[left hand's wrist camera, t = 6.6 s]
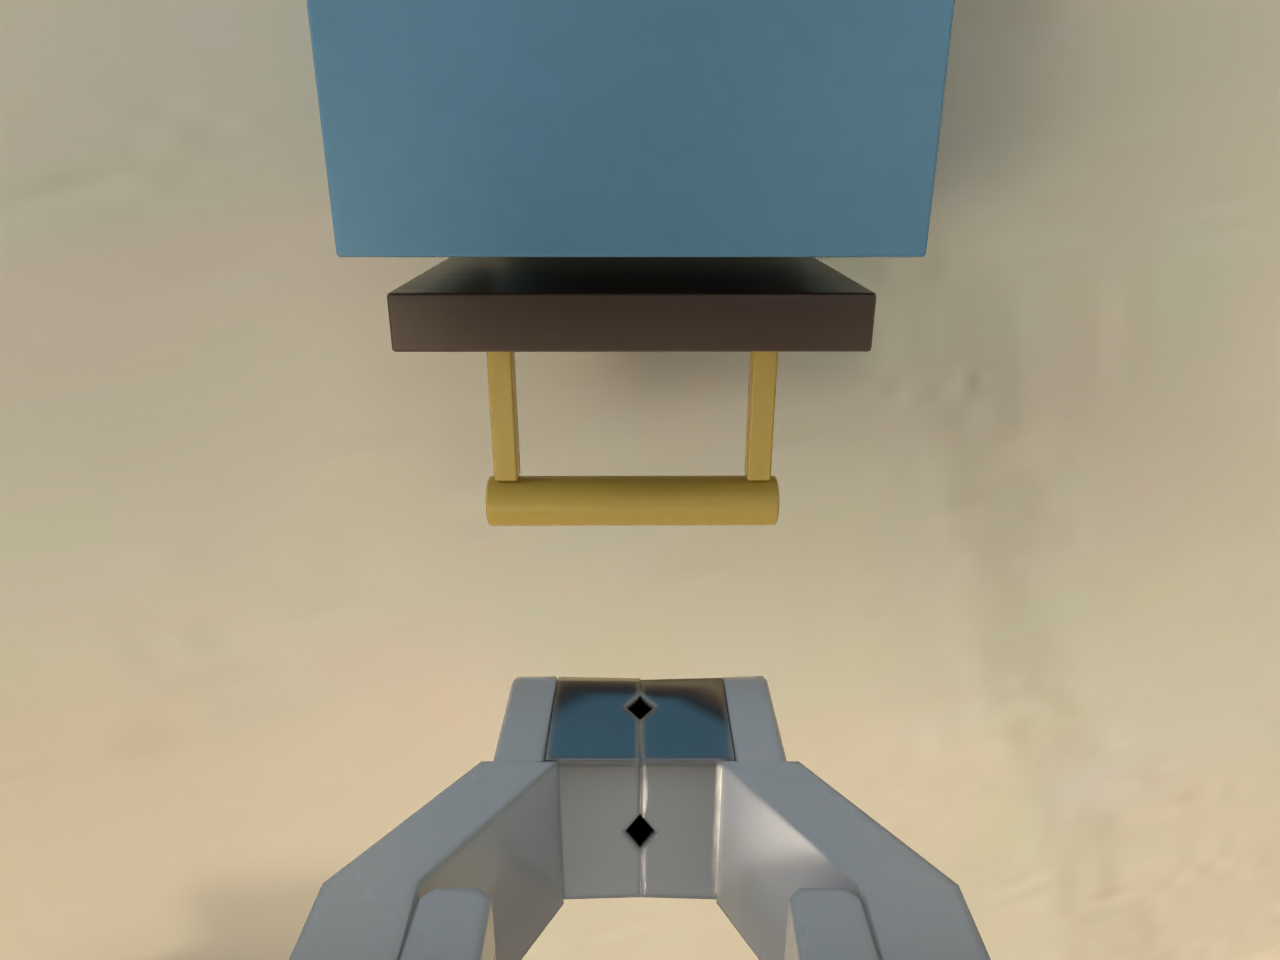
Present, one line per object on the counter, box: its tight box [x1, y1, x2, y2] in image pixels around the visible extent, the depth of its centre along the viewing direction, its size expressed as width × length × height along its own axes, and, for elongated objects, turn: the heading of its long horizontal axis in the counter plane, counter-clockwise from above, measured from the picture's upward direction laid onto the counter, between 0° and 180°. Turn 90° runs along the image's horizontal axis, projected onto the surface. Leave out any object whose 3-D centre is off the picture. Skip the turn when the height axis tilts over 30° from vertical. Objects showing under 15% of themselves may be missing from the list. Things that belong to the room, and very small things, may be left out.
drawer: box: [387, 257, 876, 526], centre depth 20 cm, size 23×10×10 cm, turn 0°
